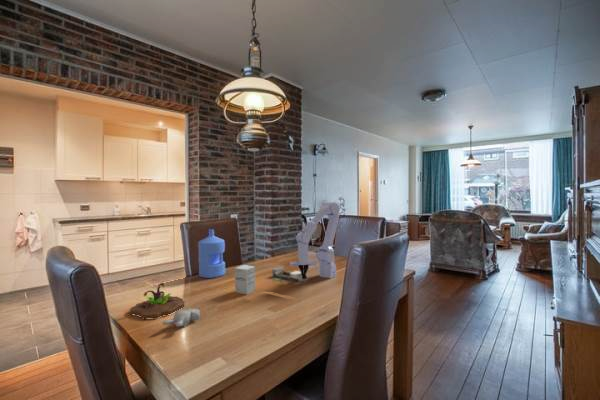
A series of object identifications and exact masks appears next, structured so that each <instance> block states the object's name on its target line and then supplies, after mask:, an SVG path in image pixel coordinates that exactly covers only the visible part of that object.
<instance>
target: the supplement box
mask: <svg viewBox="0 0 600 400" xmlns="http://www.w3.org/2000/svg"><path fill="white" fill-rule="evenodd" d="M234 274H235V275H234V277H235V283H234V284H235V293H237V294H242V295H249V294H251V293H253V292H255V291H256V266H254V265H246V264H242V265H240V266H237V267H235V268H234Z"/></svg>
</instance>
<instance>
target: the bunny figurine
mask: <svg viewBox="0 0 600 400" xmlns="http://www.w3.org/2000/svg"><path fill="white" fill-rule="evenodd" d="M200 312H201V311H200V310H199V309H197V308H186V309H183V310H182V309H180V310H178V311H176V312H175V313H174V316H173V318H170V319H165V320H163V322H162V326H166V325H169V324H172V323H173V324H174V326H176V327H183V326H185V327H186V325H187V326H189V325H190V324H189V323H191V322H194V321H197V320H198V321H199V320H200V319H201V318H200V315H201V313H200ZM188 324H189V325H188Z"/></svg>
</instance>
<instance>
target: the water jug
mask: <svg viewBox="0 0 600 400" xmlns="http://www.w3.org/2000/svg"><path fill="white" fill-rule="evenodd" d="M225 242H226V241H225V240H224V239H223V238H220V237H218V236H215V229H214V228H213V229H212V228H210V229H208V236H206V237H204V238H203V239H201V240H199V241H198V244H197V245H198V247H197V249H198V270H199V271H198V276H199V277H200V278H202V277H203V279H215V278H220V277H223V276H224V275H225V274H226V271H227V270H226V262H225V261H224V258H223V257H224V256H223V254H224V253H225V251H226V250H225V249H226V244H225ZM219 276H220V277H219ZM214 277H215V278H214Z"/></svg>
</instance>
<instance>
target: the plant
mask: <svg viewBox="0 0 600 400" xmlns="http://www.w3.org/2000/svg"><path fill="white" fill-rule="evenodd" d="M161 286H162V287H166V283H165V282H160V283H159V285H158V286H157V288H156V291H154V290H147V291H146V292H144V293H143V297H145V298H146V299H148V300H146V301H142V302H139V303H138V302H137V303H136V305H134V306H131V307H130V309H129V312H130V313H131V314H135V315H139V316H141V317H142V318H158V317H160V316H163V315H168V314H171V313H173V312H175V311H176V312H177V310H178V311H180V310H182V309H184V308H185V307H186V306H185V305H186V304H185V301H184V299H183V298H182V297H180V296H172V293H171V292H170V293H167V294H166V295H165V292H164V291H160V288H161ZM148 293H151V296H147V295H148ZM184 306H185V307H184ZM183 307H184V308H183ZM181 308H182V309H181ZM179 309H180V310H179ZM176 312H175V313H176ZM130 313H129V314H130ZM131 314H130V315H131ZM173 314H174V313H173ZM171 315H172V314H171ZM168 316H169V315H168ZM163 317H164V316H163ZM142 318H141V319H142ZM160 318H161V317H160ZM158 319H159V318H158Z"/></svg>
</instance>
